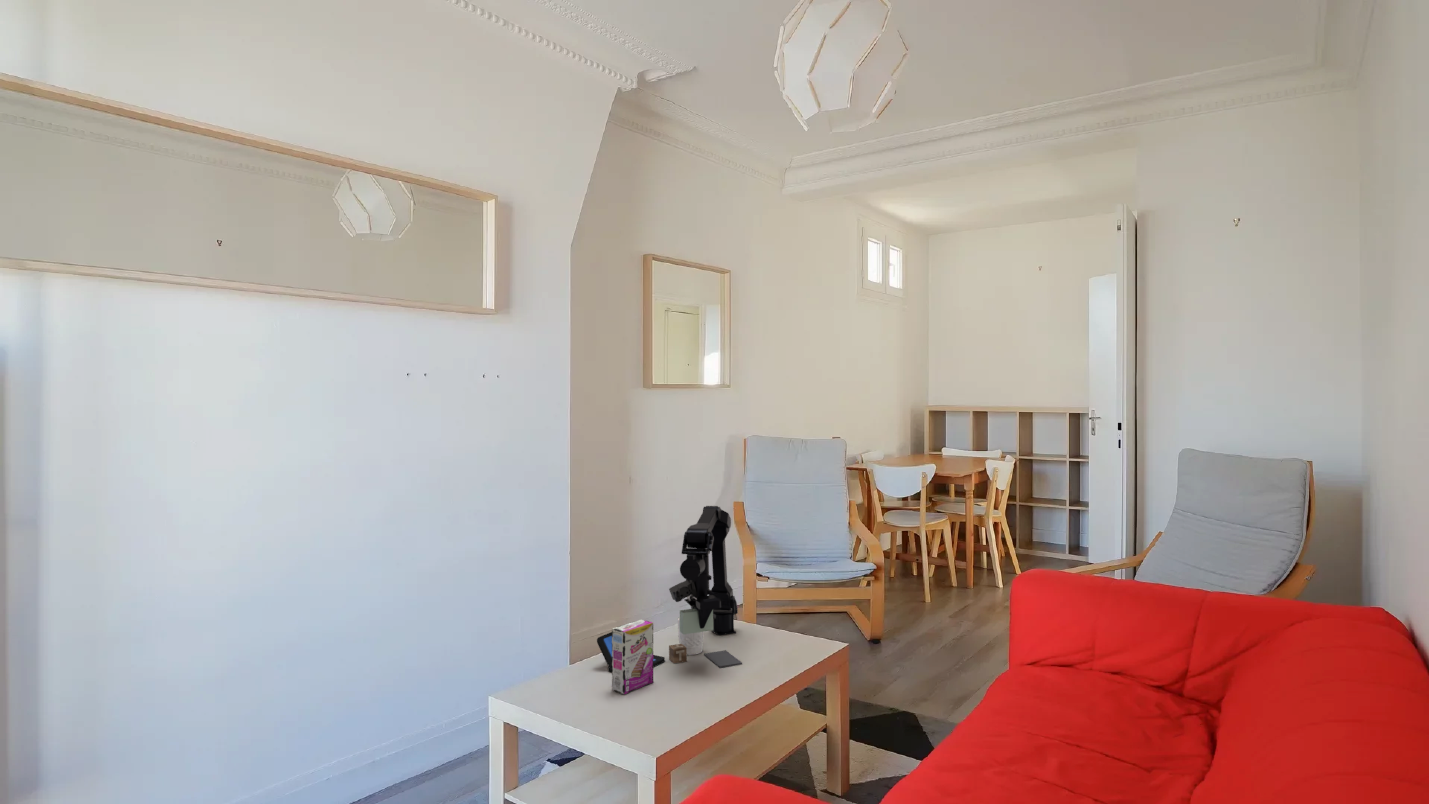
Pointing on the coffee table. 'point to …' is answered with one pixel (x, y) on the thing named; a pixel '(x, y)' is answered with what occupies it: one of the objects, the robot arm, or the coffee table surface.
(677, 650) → the letter block
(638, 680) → the candy bar box
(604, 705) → the coffee table surface
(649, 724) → the coffee table surface
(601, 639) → the game console
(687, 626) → the sage rectangular block
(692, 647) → the white cup
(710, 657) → the dark gray panel
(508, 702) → the coffee table surface
